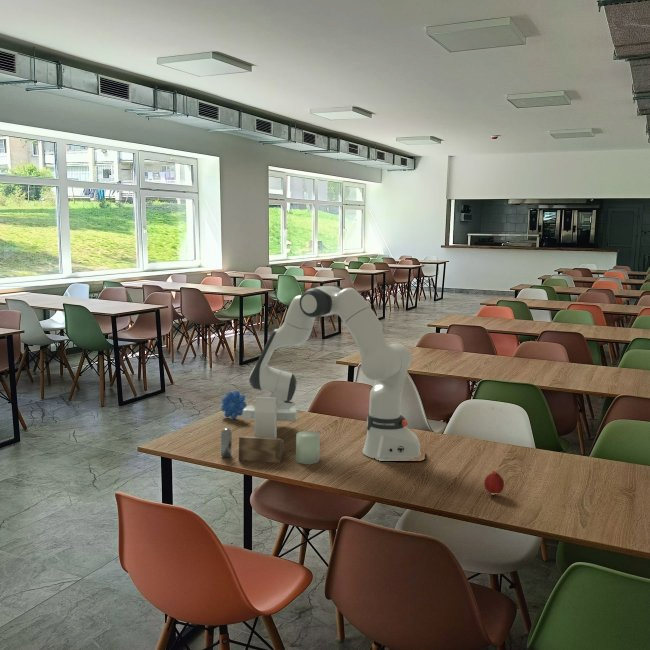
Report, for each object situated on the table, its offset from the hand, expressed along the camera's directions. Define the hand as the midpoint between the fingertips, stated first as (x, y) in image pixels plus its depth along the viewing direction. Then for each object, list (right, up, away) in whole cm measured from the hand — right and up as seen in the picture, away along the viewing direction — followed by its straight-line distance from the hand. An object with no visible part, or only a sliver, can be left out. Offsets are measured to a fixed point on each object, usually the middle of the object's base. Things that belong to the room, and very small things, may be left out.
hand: (267, 419), depth 232 cm
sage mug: (+14, -12, -10) cm, 21 cm away
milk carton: (0, -10, -1) cm, 10 cm away
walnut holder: (-1, -11, -10) cm, 15 cm away
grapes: (-16, -4, +33) cm, 37 cm away
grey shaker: (-13, -11, -11) cm, 20 cm away
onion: (+72, -18, -36) cm, 83 cm away
